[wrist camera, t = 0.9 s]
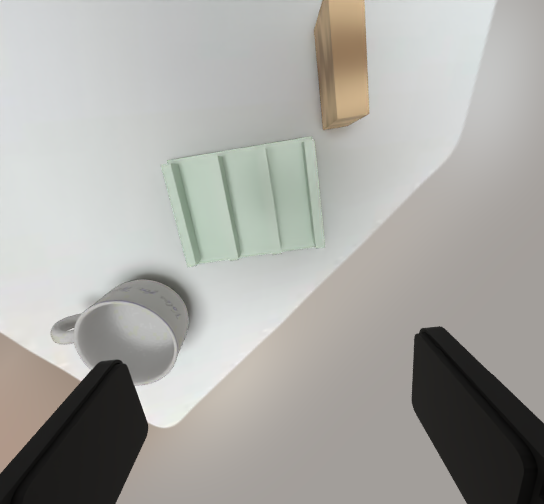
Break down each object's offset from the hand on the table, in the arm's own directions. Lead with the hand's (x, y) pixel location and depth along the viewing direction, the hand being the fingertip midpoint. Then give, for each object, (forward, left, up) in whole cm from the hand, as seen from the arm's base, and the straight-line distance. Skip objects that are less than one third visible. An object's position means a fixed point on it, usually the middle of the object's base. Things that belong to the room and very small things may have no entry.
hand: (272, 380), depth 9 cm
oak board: (-14, +8, -25) cm, 29 cm away
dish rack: (-3, -2, -24) cm, 25 cm away
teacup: (+8, -18, -25) cm, 32 cm away
